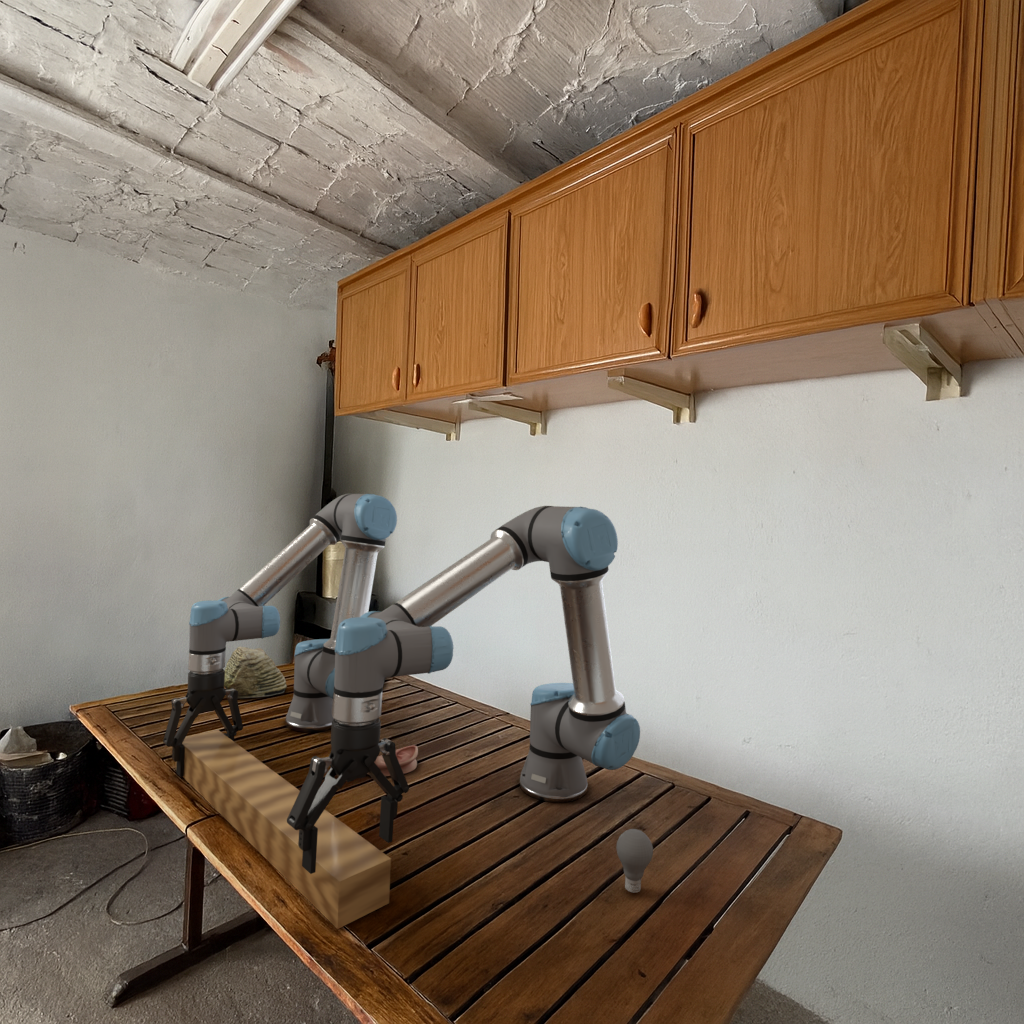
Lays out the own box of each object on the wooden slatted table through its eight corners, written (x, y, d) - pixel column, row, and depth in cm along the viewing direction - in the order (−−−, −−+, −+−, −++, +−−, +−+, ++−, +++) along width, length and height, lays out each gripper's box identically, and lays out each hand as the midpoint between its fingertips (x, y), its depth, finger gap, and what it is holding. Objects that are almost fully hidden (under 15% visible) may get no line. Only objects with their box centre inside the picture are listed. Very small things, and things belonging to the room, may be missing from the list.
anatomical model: (351, 756, 145) (372, 738, 156) (350, 773, 145) (371, 754, 156) (406, 763, 142) (423, 744, 154) (405, 780, 143) (422, 760, 154)
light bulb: (610, 879, 108) (613, 822, 108) (644, 879, 109) (647, 822, 109) (619, 902, 102) (622, 840, 102) (655, 901, 103) (658, 840, 103)
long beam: (175, 770, 143) (176, 738, 143) (216, 759, 150) (217, 729, 150) (337, 929, 93) (339, 881, 93) (389, 903, 100) (391, 858, 100)
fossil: (218, 695, 195) (220, 647, 195) (278, 685, 208) (279, 640, 207) (228, 703, 189) (230, 653, 188) (289, 692, 201) (290, 645, 201)
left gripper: (159, 682, 133) (155, 788, 133) (261, 666, 148) (257, 761, 149) (148, 674, 138) (144, 776, 139) (248, 659, 154) (244, 751, 154)
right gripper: (292, 743, 87) (283, 896, 88) (434, 709, 105) (427, 836, 105) (268, 727, 93) (260, 871, 93) (407, 698, 111) (400, 819, 111)
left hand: (203, 768), depth 144 cm, fingers closed on long beam, 9 cm apart
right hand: (349, 853), depth 99 cm, fingers open, 13 cm apart
